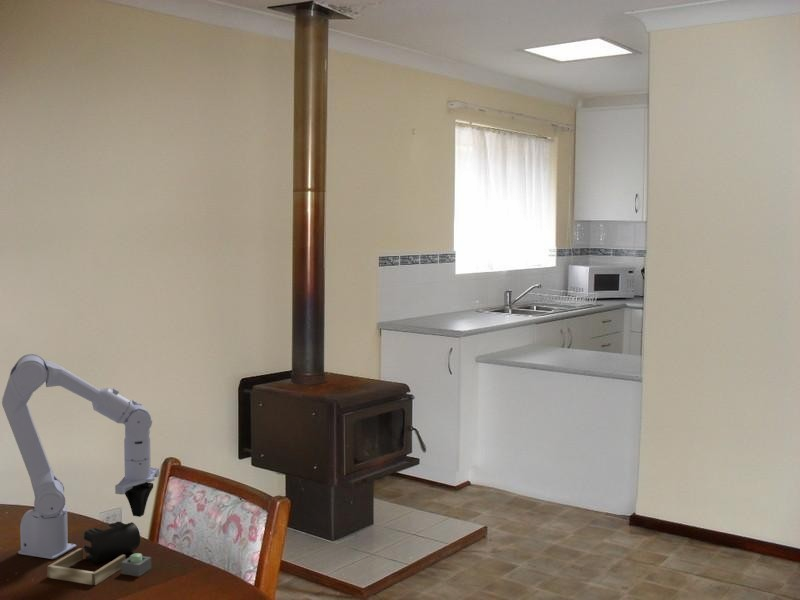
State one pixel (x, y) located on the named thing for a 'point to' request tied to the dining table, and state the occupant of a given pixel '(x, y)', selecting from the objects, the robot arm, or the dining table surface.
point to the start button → (136, 558)
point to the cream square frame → (81, 576)
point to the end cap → (111, 541)
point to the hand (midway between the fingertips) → (138, 515)
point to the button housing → (136, 566)
